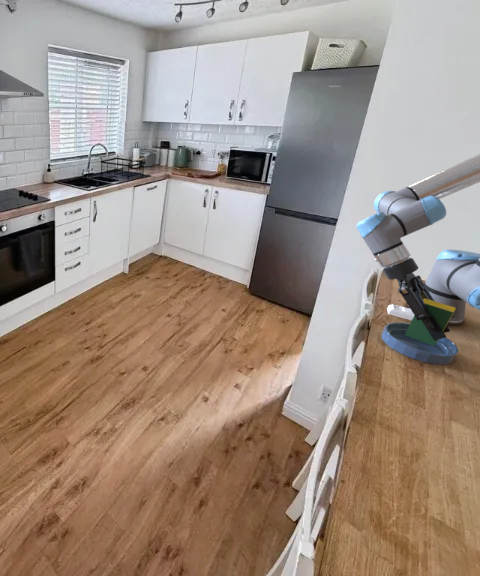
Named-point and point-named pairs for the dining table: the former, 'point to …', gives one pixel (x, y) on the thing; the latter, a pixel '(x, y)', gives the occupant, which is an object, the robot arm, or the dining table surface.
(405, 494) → the dining table surface
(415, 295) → the robot arm
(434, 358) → the bowl
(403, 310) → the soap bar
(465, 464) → the dining table surface
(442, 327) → the sponge
